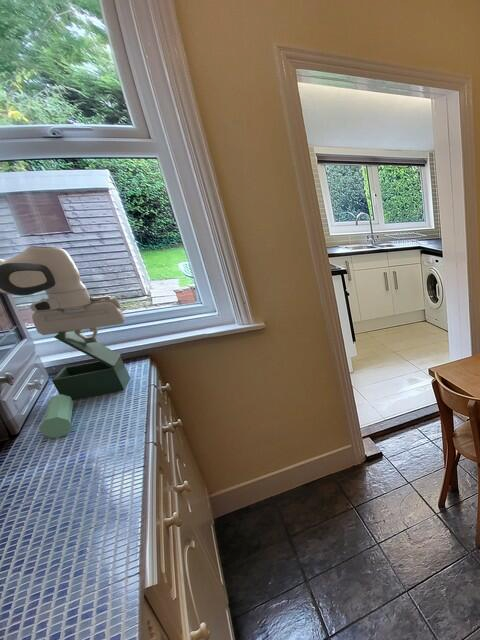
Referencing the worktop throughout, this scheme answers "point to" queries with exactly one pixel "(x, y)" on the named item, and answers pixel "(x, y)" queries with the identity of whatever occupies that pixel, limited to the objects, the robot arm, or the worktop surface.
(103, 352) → the case lid
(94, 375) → the case
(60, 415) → the light green cylinder
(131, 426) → the worktop surface
